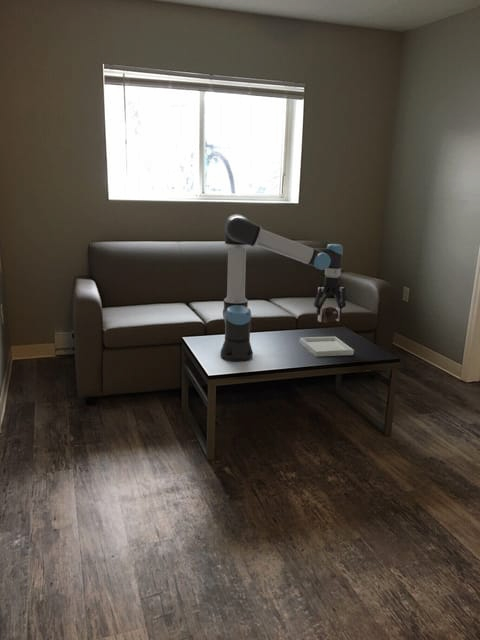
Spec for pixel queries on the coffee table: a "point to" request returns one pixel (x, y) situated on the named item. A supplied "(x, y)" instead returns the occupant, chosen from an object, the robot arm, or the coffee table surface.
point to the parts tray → (326, 346)
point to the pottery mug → (329, 314)
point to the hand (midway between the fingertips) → (328, 320)
